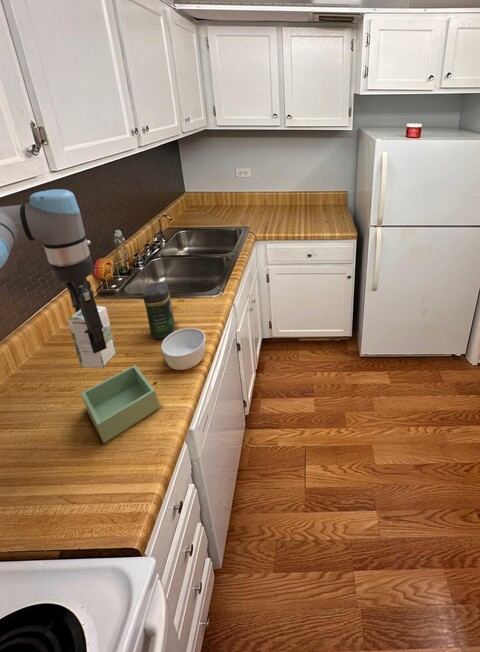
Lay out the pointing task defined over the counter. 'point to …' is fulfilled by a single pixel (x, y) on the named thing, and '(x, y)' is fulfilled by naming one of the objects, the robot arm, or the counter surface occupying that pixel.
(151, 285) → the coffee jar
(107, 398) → the bin
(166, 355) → the ramekin
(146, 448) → the counter surface
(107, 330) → the syrup box
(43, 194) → the robot arm
